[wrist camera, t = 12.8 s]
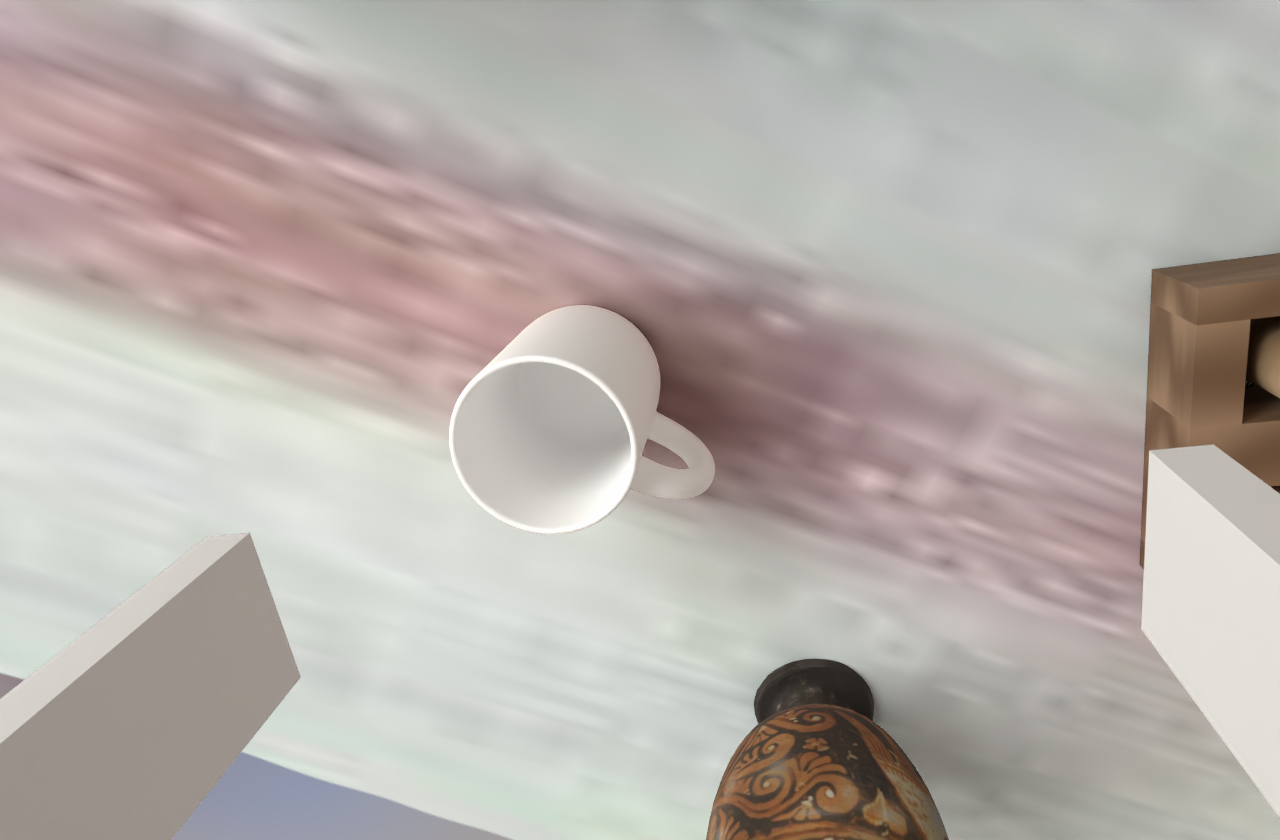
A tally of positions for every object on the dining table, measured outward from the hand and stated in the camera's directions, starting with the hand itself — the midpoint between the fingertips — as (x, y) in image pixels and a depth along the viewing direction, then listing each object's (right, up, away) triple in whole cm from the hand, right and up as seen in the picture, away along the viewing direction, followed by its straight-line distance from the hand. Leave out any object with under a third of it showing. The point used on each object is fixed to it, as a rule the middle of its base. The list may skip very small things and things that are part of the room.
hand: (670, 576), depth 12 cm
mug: (-2, +4, +33) cm, 33 cm away
